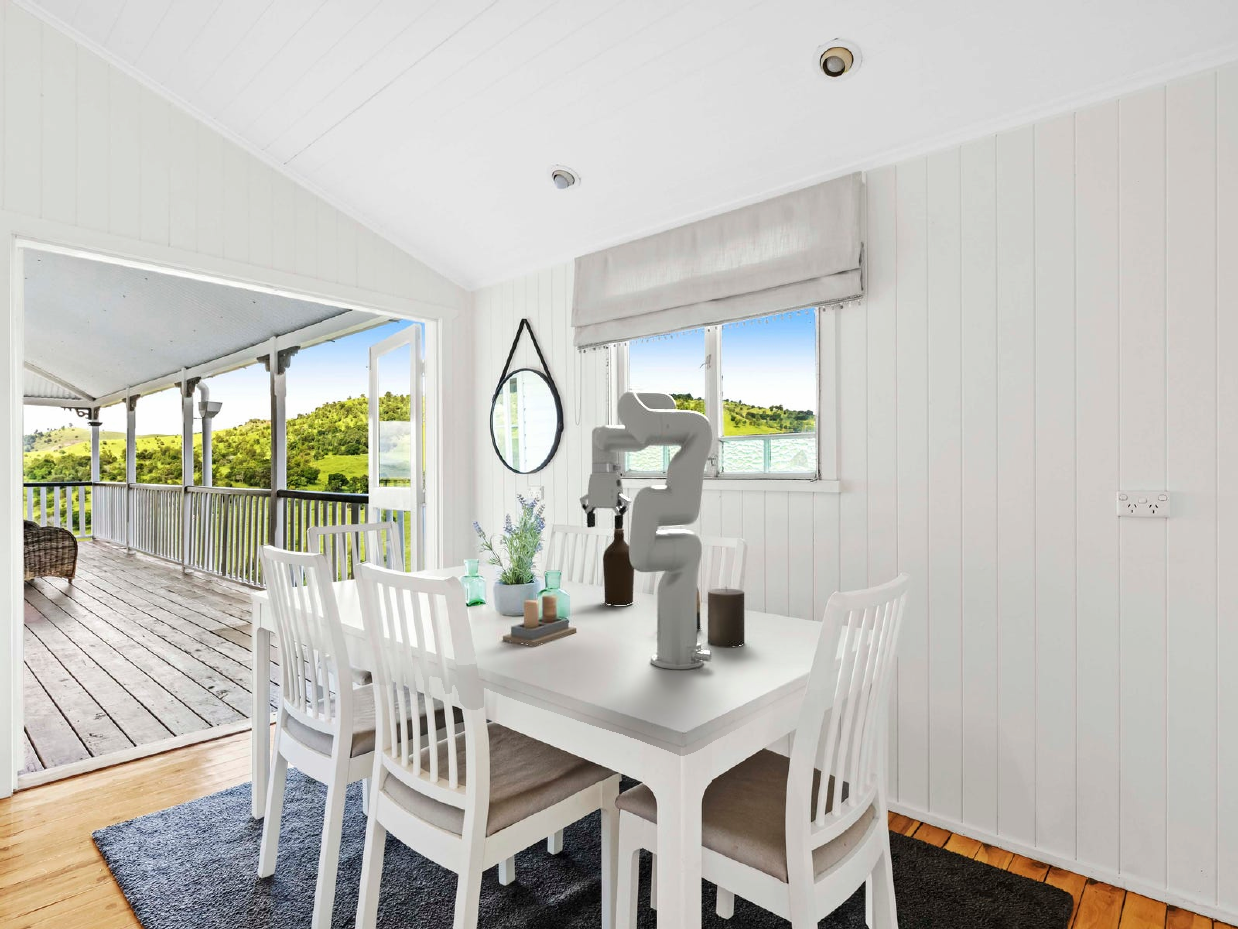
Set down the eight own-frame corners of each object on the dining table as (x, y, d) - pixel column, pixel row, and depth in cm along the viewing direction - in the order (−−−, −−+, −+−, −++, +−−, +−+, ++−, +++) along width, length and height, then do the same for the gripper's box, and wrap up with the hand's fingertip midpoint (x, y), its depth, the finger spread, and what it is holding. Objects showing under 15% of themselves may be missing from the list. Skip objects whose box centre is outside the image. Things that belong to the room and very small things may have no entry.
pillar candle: (743, 648, 182) (744, 590, 182) (705, 646, 184) (706, 588, 184) (744, 639, 192) (745, 584, 192) (708, 637, 194) (709, 582, 194)
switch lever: (559, 628, 198) (559, 596, 198) (550, 631, 195) (550, 598, 195) (548, 626, 201) (548, 594, 201) (539, 629, 197) (539, 597, 197)
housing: (576, 632, 199) (576, 596, 199) (534, 646, 184) (534, 607, 184) (545, 627, 205) (545, 591, 205) (502, 640, 190) (502, 602, 190)
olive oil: (633, 607, 232) (633, 530, 232) (601, 607, 233) (601, 530, 233) (635, 601, 243) (635, 527, 243) (604, 600, 244) (604, 527, 244)
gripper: (636, 469, 206) (636, 528, 206) (588, 468, 216) (588, 525, 216) (622, 469, 200) (622, 530, 200) (573, 469, 209) (573, 527, 210)
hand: (604, 528), depth 208 cm, fingers open, 9 cm apart
